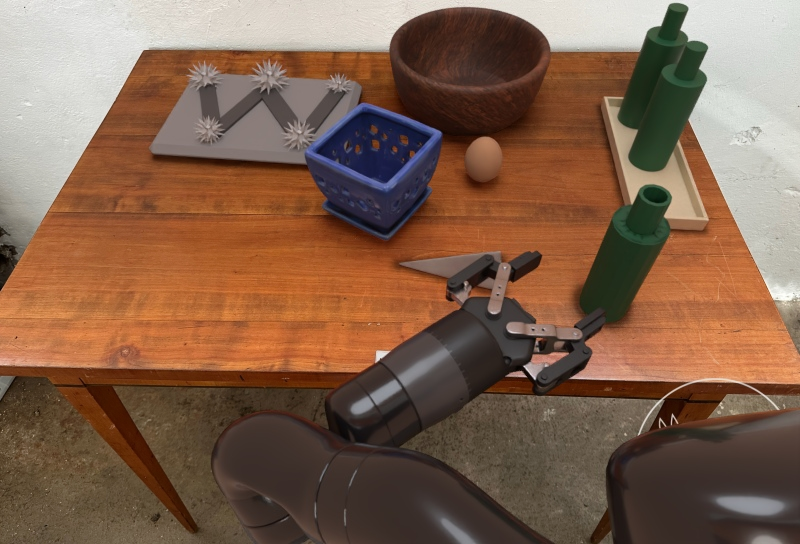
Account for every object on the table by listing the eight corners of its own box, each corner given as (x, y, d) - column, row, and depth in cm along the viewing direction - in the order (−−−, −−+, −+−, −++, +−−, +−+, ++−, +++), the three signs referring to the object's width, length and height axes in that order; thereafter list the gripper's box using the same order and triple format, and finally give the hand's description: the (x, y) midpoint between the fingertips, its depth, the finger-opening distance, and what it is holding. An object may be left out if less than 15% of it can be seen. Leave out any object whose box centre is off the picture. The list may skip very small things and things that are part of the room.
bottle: (630, 294, 66) (689, 184, 52) (621, 329, 63) (682, 223, 49) (584, 279, 68) (630, 169, 54) (574, 313, 65) (619, 205, 51)
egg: (471, 161, 82) (475, 123, 77) (504, 172, 81) (511, 133, 75) (456, 183, 79) (460, 145, 74) (491, 195, 78) (497, 156, 72)
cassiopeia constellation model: (149, 160, 83) (131, 121, 78) (197, 81, 97) (184, 43, 91) (341, 173, 81) (337, 134, 75) (363, 90, 94) (360, 52, 89)
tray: (702, 230, 73) (709, 220, 71) (629, 226, 73) (634, 216, 72) (659, 109, 90) (663, 98, 88) (600, 106, 90) (603, 96, 89)
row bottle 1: (655, 113, 88) (702, 2, 74) (650, 133, 85) (698, 20, 71) (620, 105, 90) (660, -6, 76) (614, 124, 87) (654, 12, 72)
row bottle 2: (669, 153, 82) (723, 39, 68) (663, 176, 79) (719, 61, 65) (631, 143, 84) (676, 30, 69) (624, 165, 80) (670, 51, 66)
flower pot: (311, 219, 75) (297, 150, 66) (367, 166, 82) (362, 97, 73) (390, 259, 70) (387, 191, 61) (443, 199, 77) (447, 130, 68)
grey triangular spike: (396, 297, 66) (503, 289, 64) (394, 260, 67) (500, 249, 64) (405, 300, 72) (504, 292, 69) (403, 265, 73) (501, 256, 70)
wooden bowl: (391, 62, 100) (390, 6, 92) (527, 60, 99) (537, 4, 91) (389, 149, 84) (387, 91, 76) (551, 147, 84) (566, 89, 76)
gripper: (498, 414, 41) (639, 311, 47) (392, 292, 49) (525, 216, 54) (487, 449, 47) (613, 354, 53) (394, 336, 55) (514, 263, 60)
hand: (568, 284), depth 54 cm, fingers open, 8 cm apart
